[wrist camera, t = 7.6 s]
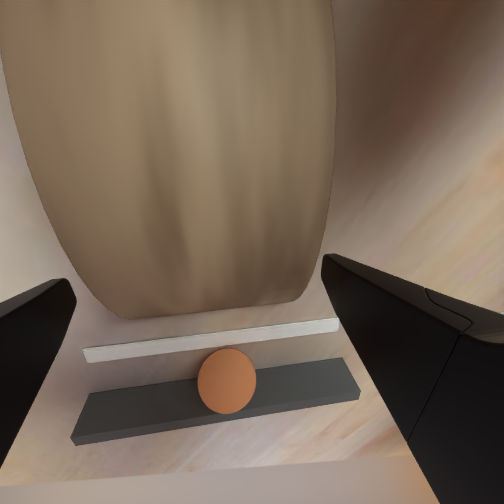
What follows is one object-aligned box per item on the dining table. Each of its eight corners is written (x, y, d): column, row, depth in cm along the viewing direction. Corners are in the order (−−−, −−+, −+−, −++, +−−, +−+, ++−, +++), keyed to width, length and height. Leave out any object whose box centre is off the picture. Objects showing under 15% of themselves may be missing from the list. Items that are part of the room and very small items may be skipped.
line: (338, 317, 19) (339, 319, 19) (336, 329, 20) (337, 331, 20) (83, 348, 17) (82, 350, 17) (89, 361, 18) (87, 363, 17)
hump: (247, 14, 24) (407, -430, 4) (252, 231, 34) (307, 379, 15) (135, 12, 23) (-296, -603, 3) (175, 237, 33) (127, 406, 14)
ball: (249, 367, 21) (262, 417, 17) (199, 379, 20) (203, 434, 16) (248, 331, 19) (263, 380, 15) (193, 342, 18) (195, 396, 14)
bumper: (342, 357, 21) (360, 391, 19) (340, 365, 22) (358, 399, 19) (89, 393, 19) (70, 437, 16) (93, 401, 20) (75, 445, 17)
